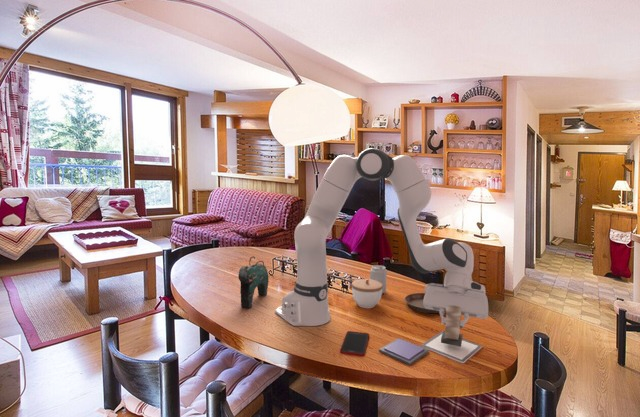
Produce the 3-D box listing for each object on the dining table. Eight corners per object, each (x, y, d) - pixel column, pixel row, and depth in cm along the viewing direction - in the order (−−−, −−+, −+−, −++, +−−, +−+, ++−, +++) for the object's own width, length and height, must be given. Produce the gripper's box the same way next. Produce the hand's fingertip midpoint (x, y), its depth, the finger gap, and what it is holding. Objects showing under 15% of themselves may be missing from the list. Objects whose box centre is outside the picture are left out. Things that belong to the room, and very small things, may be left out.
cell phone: (369, 336, 128) (369, 333, 128) (364, 357, 114) (364, 354, 114) (347, 333, 130) (347, 330, 130) (339, 354, 116) (339, 351, 116)
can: (387, 295, 166) (388, 269, 165) (370, 294, 167) (371, 268, 165) (384, 289, 174) (385, 264, 172) (368, 289, 174) (369, 264, 172)
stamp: (440, 342, 119) (442, 309, 117) (443, 334, 124) (445, 303, 123) (460, 346, 116) (463, 313, 115) (462, 338, 122) (464, 306, 120)
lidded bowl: (360, 312, 147) (361, 286, 145) (346, 301, 158) (346, 276, 157) (387, 308, 152) (388, 282, 150) (371, 297, 163) (372, 273, 162)
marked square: (420, 346, 120) (421, 344, 120) (441, 333, 130) (441, 331, 130) (463, 363, 111) (463, 361, 111) (481, 347, 120) (482, 345, 120)
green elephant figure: (248, 311, 147) (248, 262, 144) (234, 309, 149) (233, 260, 146) (271, 294, 165) (271, 250, 163) (258, 292, 167) (257, 249, 165)
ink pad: (379, 351, 117) (379, 347, 117) (398, 340, 125) (398, 336, 124) (409, 365, 109) (409, 361, 109) (428, 352, 117) (428, 348, 117)
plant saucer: (399, 310, 150) (399, 302, 150) (410, 296, 166) (410, 289, 166) (444, 319, 142) (445, 311, 142) (451, 304, 158) (452, 297, 157)
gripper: (425, 277, 129) (418, 315, 121) (490, 287, 120) (487, 328, 112) (426, 286, 133) (420, 322, 126) (489, 295, 125) (486, 335, 117)
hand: (452, 325), depth 119 cm, fingers closed on stamp, 4 cm apart
